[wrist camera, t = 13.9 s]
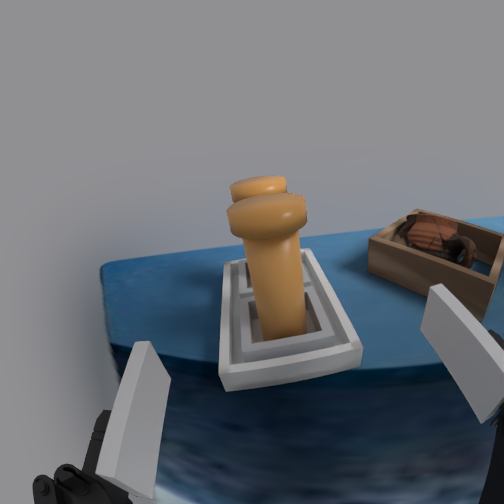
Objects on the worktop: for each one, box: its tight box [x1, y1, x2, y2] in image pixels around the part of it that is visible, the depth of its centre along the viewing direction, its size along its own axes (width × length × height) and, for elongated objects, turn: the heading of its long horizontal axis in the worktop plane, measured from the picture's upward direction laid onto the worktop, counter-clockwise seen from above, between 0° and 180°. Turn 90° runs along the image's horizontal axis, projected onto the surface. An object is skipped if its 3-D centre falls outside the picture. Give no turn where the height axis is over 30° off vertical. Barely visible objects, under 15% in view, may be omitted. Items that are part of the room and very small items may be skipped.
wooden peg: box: [227, 193, 307, 342], centre depth 21 cm, size 5×5×12 cm
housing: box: [219, 248, 363, 392], centre depth 27 cm, size 18×11×3 cm, turn 3°
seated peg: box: [230, 176, 287, 203], centre depth 29 cm, size 5×5×12 cm
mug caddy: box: [367, 209, 504, 322], centre depth 27 cm, size 14×16×4 cm
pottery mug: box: [398, 214, 477, 269], centre depth 28 cm, size 12×10×8 cm
